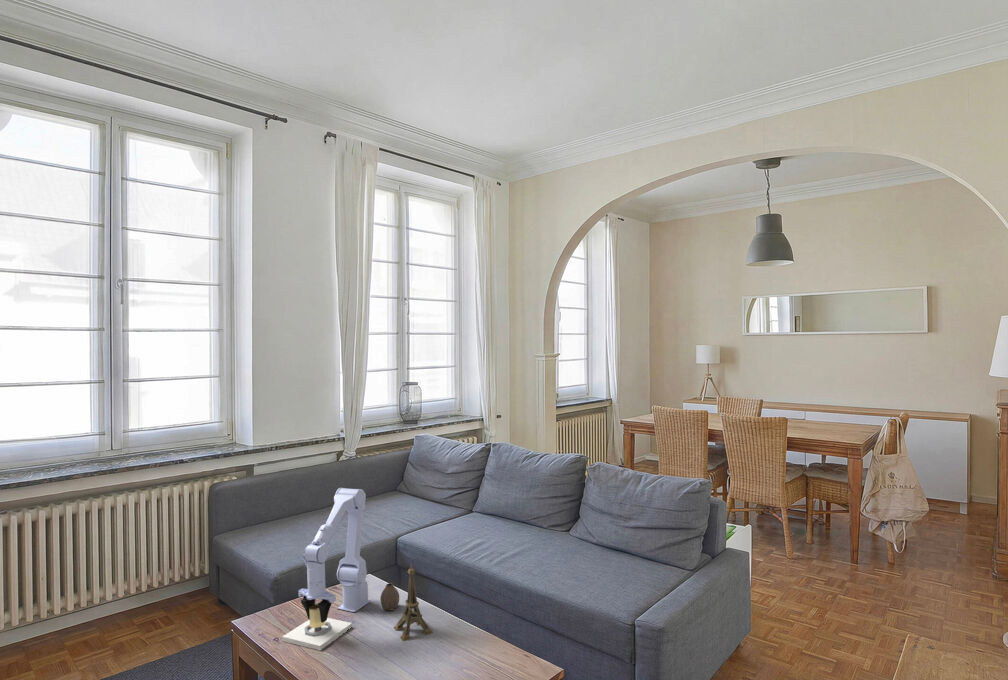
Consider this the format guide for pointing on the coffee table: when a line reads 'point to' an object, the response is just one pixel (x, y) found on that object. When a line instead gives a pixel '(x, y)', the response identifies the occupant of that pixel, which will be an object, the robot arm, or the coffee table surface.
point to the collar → (315, 616)
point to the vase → (389, 597)
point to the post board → (317, 634)
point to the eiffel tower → (411, 615)
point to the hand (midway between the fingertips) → (317, 619)
